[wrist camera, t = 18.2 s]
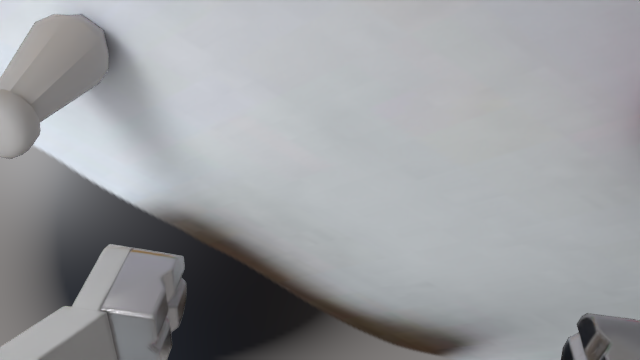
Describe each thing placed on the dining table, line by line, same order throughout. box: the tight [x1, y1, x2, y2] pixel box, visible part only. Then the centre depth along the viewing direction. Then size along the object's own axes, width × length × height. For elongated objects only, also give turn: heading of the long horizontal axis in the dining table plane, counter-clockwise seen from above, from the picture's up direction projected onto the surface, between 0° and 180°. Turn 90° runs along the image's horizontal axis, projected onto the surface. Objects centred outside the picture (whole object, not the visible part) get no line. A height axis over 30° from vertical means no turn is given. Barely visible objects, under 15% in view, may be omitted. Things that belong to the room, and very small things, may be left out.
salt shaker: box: [0, 14, 109, 159], centre depth 39 cm, size 6×6×13 cm
